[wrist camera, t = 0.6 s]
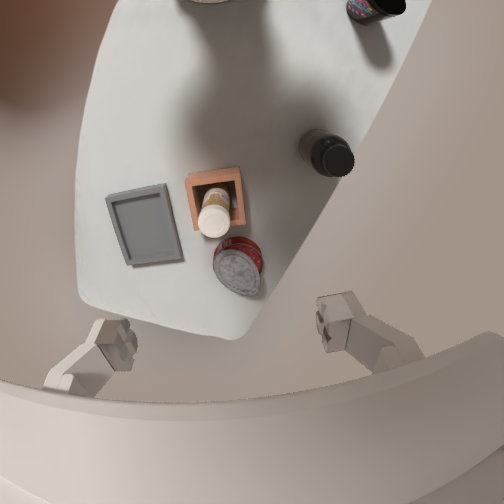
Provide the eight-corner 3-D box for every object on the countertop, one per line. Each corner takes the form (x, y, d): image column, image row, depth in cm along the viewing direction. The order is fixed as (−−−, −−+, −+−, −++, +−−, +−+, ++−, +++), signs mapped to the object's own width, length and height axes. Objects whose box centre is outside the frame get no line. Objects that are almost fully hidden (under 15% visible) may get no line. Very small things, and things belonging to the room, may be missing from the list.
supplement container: (355, -9, 30) (380, -25, 21) (382, 13, 32) (411, 2, 23) (338, 10, 32) (362, -6, 23) (367, 32, 35) (396, 22, 26)
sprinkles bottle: (234, 190, 50) (236, 219, 38) (220, 209, 51) (219, 244, 40) (213, 177, 48) (208, 203, 36) (199, 197, 50) (191, 229, 38)
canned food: (242, 265, 64) (232, 304, 58) (208, 242, 59) (194, 282, 53) (280, 250, 56) (272, 294, 51) (245, 222, 51) (232, 267, 46)
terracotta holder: (188, 173, 47) (184, 181, 43) (238, 166, 47) (240, 173, 43) (197, 219, 52) (194, 230, 47) (244, 212, 52) (246, 224, 48)
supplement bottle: (307, 122, 44) (331, 129, 34) (339, 139, 46) (369, 151, 35) (291, 155, 47) (309, 171, 37) (323, 171, 49) (348, 191, 38)
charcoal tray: (108, 194, 47) (105, 198, 46) (165, 183, 48) (163, 186, 46) (129, 260, 55) (126, 265, 53) (182, 253, 55) (180, 258, 54)
